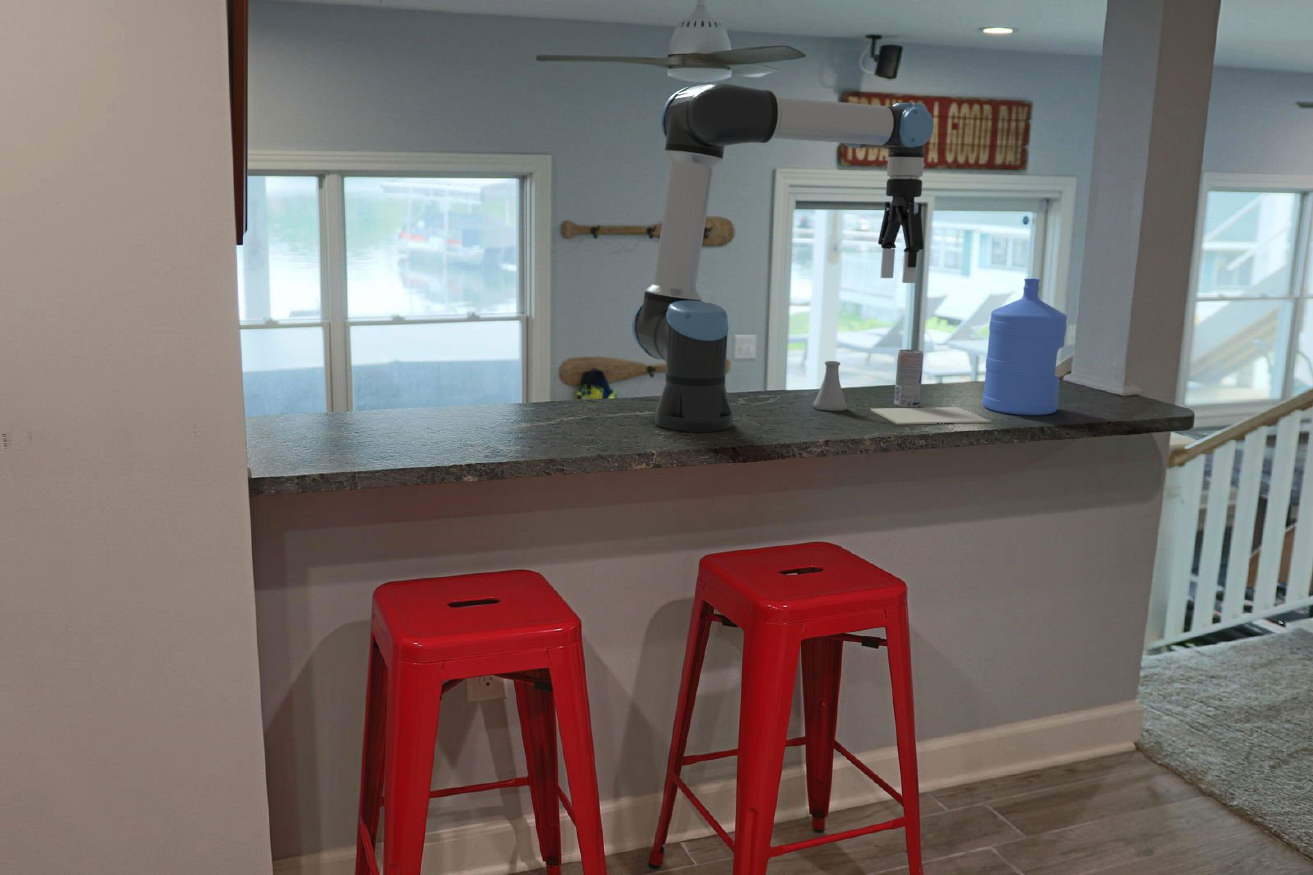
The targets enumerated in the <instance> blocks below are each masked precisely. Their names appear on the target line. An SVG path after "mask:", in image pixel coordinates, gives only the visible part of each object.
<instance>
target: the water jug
mask: <svg viewBox="0 0 1313 875" xmlns="http://www.w3.org/2000/svg"><path fill="white" fill-rule="evenodd" d="M1023 282H1024V286H1023V294H1022V297H1020V299H1017V300H1014V301H1012V302H1010V303H1007V304H1006V305H1002V306H1000V307H998V308H995V309H993V310H992V311H991V315H990V319H989V327H988V328H989V334H988V343H987V344H988V345H987V352H986V353H987V355H986V357H985V358H986V359H985V373H984V374H985V376H984V378H985V379H984V387H983V393H982V400H981V403H982V405H983V406H984V407H985V408H986V409H988V410H991V411H993V412H996V413H997V412H998V413H1002V414H1007V415H1017V416H1044V415H1045V416H1047V415H1051V414H1054V413H1055V412H1057V410H1058V407H1059V393H1060V392H1059V391H1060V381H1061V380H1060V378H1059V377H1058V376H1056V369H1057V368H1056V367H1057V359H1058V352H1059V350H1060V349H1062V348H1064V346H1065V337H1066V332H1067V318H1068V317H1067V315H1066V314H1065V313H1063V312H1062V311H1060V310H1058V309H1057V308H1055V307H1053V306H1051V305H1050V304H1048V303H1046V302H1044V301H1043V300H1041V299H1040V298H1039V292H1040V282H1041V279H1039V278H1024V281H1023Z"/></svg>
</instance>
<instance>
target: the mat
mask: <svg viewBox="0 0 1313 875" xmlns="http://www.w3.org/2000/svg"><path fill="white" fill-rule="evenodd" d="M870 411H871V412H872V413H874V414H877V415H878V416H881V417H883V418H884V419H886V420H887V421H890V422H892V423H894V424H896V425H899V426H900V425H941V423H942V425H945V424H944V423H954V424H989V423H991V420H989V419H986V418H984V417H982V416H980V415H977V414H974V412H970V411H967V410H966V409H963V408H961V407H958V406H949V407H947V406H945V407H917V408H901V407H890V408H887V407H884V408H883V407H882V408H881V407H880V408H879V407H878V408H870ZM937 423H939V424H937Z"/></svg>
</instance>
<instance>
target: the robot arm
mask: <svg viewBox="0 0 1313 875" xmlns="http://www.w3.org/2000/svg"><path fill="white" fill-rule="evenodd" d="M660 114H661V115H660V126H661V131H662V133H663V135H664V137H665V146H664V147H665V148H664V155H665V156H666V157H667V158H668V160H669V161H670V166H669V172H668V180H667V187H666V194H665V202H664V207H663V208H664V210H663V213H662V214H663V215H662V221H661V222H662V223H661V229H660V236H659V242H658V249H657V257H656V265H655V270H654V277H653V278H654V279H653V282H652V284H650V285H649V286H648V287H646V288H645V289H644V295H643V299H642V304H641V305H640V306H639V307H638V308H637V310H635V312H634V314H633V317H632V321H631V332H632V336H633V337H632V338H633V339H634V341H635V343H636V344H637V346H638V347H639V348H640V349H641V351H643V352H644V353H646V354H647V355H648V356H650V357H652V358H653V359H656V360H662V361H663V362H665V381H664V382H665V383H664V387H663V390H662V393H661V396H660V399H659V401H658V404H657V407H656V410H655V416H654V417H655V421H654V422H655V425H656V426H658V427H659V428H660V427H661V428H663V429H667V430H672V431H680V432H687V433H688V432H689V433H711V432H718V431H723V430H728V429H730V428H732V427H733V424H734V414H733V410H732V406H731V403H730V400H729V395H728V392H727V388H726V375H727V373H726V372H727V356H728V354H727V353H728V351H727V350H728V333H729V322H728V313H727V311H726V310H725V308H723V307H722V306H720V305H719V304H715V303H712V302H705V301H702V296H701V295H700V294H699V292H698V291H697V280H698V274H699V268H700V261H701V254H702V249H703V248H702V247H703V242H704V235H705V227H706V222H707V214H708V207H709V200H710V196H711V188H712V181H713V174H714V169H715V168H716V166H718V165H719V164H720V163H723V158H724V153H725V147H726V146H734V145H740V144H750V143H751V144H752V143H753V144H754V143H759V144H767V143H769V142H771V141H772V140H773V139H780V140H792V141H794V140H795V141H796V140H797V141H807V142H809V141H812V142H824V143H825V142H827V143H841V144H843V145H844V146H845V147H847V148H856V149H863V148H864V149H886V150H888V158H887V169H886V175H887V176H888V177H889V178H888V179H887V180H886V188H885V195H886V196H887V197H892V199H891V201H885V203H884V212H883V218H882V222H881V227H880V230H879V237H878V241H877V244H878V245H879V246H880V247H881V248H882V250H881V251H882V252H881V261H880V262H881V264H880V266H881V267H880V278H881V279H893V278H894V271H895V270H894V268H895V257H896V256H895V255H896V254H895V253H896V248H897V246H896V244H895V242H896V240H897V236H898V235H899V232H900V229H902V233H903V239H904V244H905V248H904V249H903V251H902V252H903V265H902V279H901V283H903V284H915V283H916V278H917V277H916V276H917V264H918V253H919V252H920V250H923V249H924V237H923V236H924V235H923V234H924V233H923V224H922V207H923V205H922V203H920V202H918V203H917V202H915V198H920V197H921V196H922V191H923V181H922V180H923V179H920V178H921V177H922V176H923V173H924V167H925V166H926V164H925V150H926V144H927V143H928V142H929V140H930V139H931V137H932V135H933V132H934V129H935V127H934V118H933V116H932V114H931V113H930V112H929V110H928V108H927V106H926V105H925V104H923V103H920V102H919V103H917V102H897V103H894V104H893V105H892V106H886V105H874V104H865V103H863V104H862V103H854V102H844V101H843V102H841V101H831V100H830V101H828V100H818V99H805V98H796V97H782V96H777V94H776V93H775V92H774V91H772V90H767V89H760V88H752V87H746V86H741V85H736V84H730V83H724V82H714V83H710V84H702V85H691V86H687V87H684V88H682V89H680V90H678V91H676V92H674V93H673V94H672V95H671V96H670V97H669V98H668V99H667V101H666V102H665V103H664V106H663V108H662V110H661V113H660Z"/></svg>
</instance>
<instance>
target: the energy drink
mask: <svg viewBox="0 0 1313 875" xmlns="http://www.w3.org/2000/svg"><path fill="white" fill-rule="evenodd" d="M896 359H897V362H896V374H895V375H896V376H895V387H894V401H893V404H894V406H896V408H919V406H920V401H921V390H922V389H921V387H922V374H923V364H924V362H923V361H924V354H923V351H921V350H920V349H919V350H916V349H899V350H898V353H897V358H896Z"/></svg>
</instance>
